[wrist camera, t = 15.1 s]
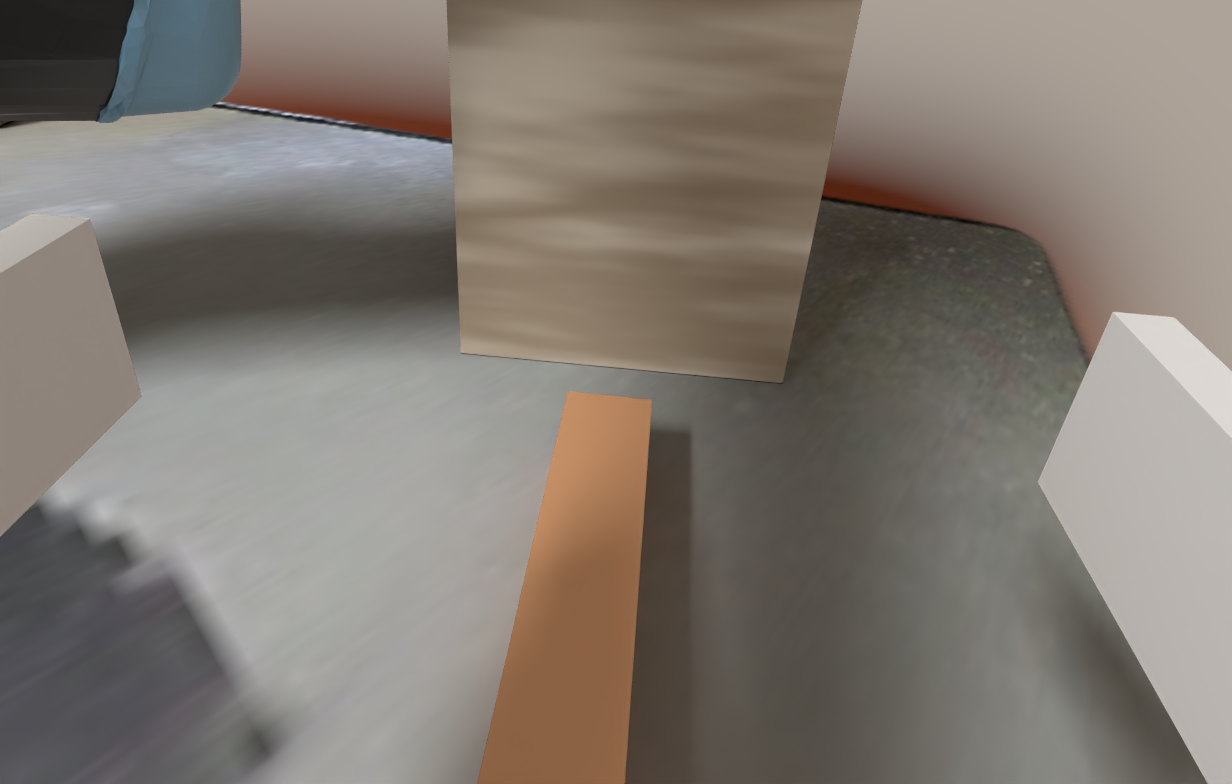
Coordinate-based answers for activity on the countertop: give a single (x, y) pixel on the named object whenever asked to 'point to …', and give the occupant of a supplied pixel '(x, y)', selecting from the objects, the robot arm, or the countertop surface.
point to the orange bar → (577, 606)
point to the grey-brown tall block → (641, 176)
